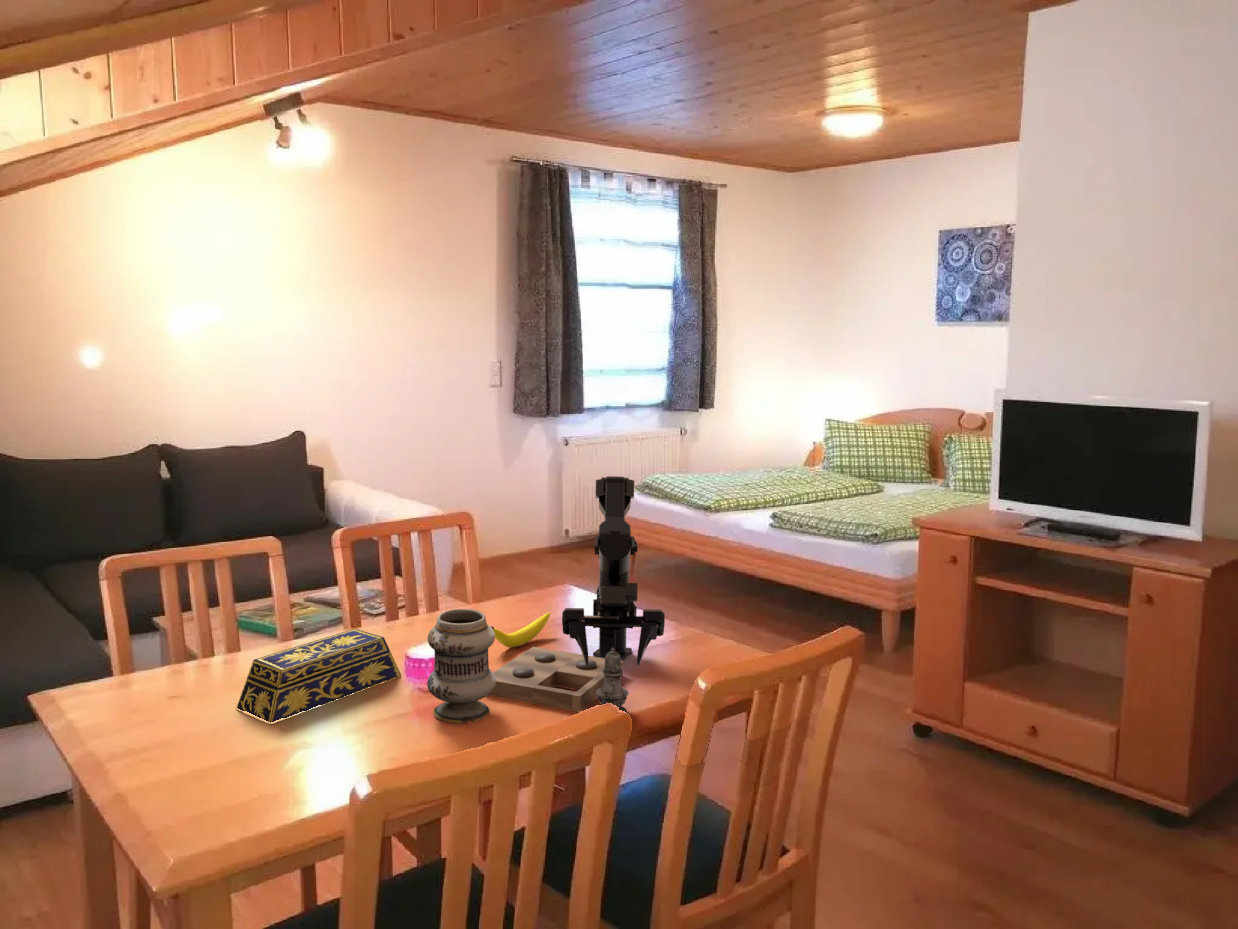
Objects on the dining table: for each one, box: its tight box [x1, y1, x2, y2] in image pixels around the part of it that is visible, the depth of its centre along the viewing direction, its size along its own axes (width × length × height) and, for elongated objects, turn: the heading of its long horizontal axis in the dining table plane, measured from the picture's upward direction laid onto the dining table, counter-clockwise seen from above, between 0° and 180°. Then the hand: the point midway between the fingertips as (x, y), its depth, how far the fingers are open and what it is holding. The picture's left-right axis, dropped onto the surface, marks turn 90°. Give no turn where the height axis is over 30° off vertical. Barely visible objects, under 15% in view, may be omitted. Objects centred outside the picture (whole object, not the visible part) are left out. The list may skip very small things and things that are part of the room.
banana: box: [490, 611, 552, 648], centre depth 213 cm, size 3×19×6 cm, turn 144°
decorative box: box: [235, 628, 402, 723], centre depth 185 cm, size 11×30×9 cm, turn 144°
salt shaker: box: [596, 647, 630, 713], centre depth 178 cm, size 6×6×12 cm
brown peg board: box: [488, 646, 624, 713], centre depth 191 cm, size 20×20×4 cm
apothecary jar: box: [426, 608, 496, 724], centre depth 176 cm, size 12×12×18 cm
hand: (612, 664), depth 178 cm, fingers open, 9 cm apart
